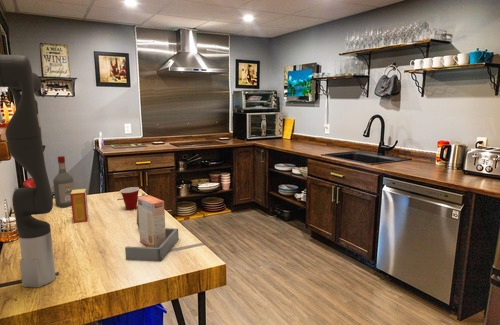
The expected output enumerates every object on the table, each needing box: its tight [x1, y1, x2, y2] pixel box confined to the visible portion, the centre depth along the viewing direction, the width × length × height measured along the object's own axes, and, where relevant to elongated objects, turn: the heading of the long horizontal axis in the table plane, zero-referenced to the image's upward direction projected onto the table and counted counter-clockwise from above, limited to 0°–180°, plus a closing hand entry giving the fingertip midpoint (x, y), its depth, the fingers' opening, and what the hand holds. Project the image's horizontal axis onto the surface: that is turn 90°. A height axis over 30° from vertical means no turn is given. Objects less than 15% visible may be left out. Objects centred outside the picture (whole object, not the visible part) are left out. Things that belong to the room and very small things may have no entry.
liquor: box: [52, 155, 75, 209], centre depth 206 cm, size 9×9×30 cm
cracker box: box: [137, 194, 166, 248], centre depth 147 cm, size 14×6×21 cm, turn 42°
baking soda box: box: [71, 188, 89, 224], centre depth 181 cm, size 10×6×16 cm
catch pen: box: [124, 227, 179, 262], centre depth 145 cm, size 22×14×5 cm, turn 174°
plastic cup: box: [119, 186, 140, 211], centre depth 200 cm, size 11×11×12 cm
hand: (34, 170), depth 134 cm, fingers closed
